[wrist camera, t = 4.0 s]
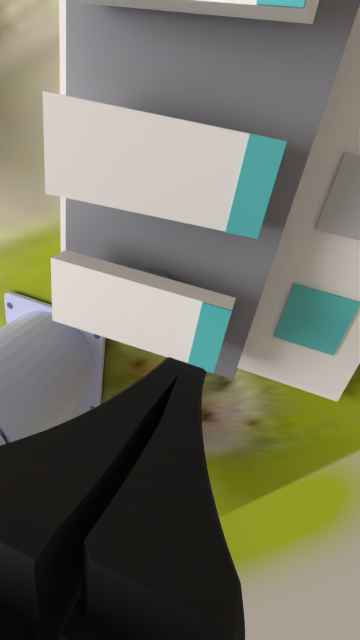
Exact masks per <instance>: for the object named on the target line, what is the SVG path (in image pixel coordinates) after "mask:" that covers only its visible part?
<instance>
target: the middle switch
mask: <svg viewBox="0 0 360 640" xmlns="http://www.w3.org/2000/svg"><path fill="white" fill-rule="evenodd" d="M42 92H43V128H44V163H45V194H50V195H55V196H59V197H64V198H69V199H73V200H78V201H83V202H88V203H92V204H97V205H102V206H107V207H111V208H116V209H121V210H126V211H130V212H135V213H140V214H145V215H149V216H154V217H159V218H163V219H168V220H173V221H178V222H182V223H187V224H192V225H197V226H201V227H206V228H211V229H216V230H220V231H225V232H226V233H231V234H236V235H240V236H245V237H250V238H255V239H258V236H259V233H260V229H261V226H262V223H263V219H264V216H265V213H266V209H267V206H268V203H269V200H270V196H271V193H272V190H273V186H274V183H275V180H276V176H277V173H278V170H279V166H280V163H281V160H282V156H283V153H284V150H285V147H286V143H287V141H283V140H279V139H275V138H270V137H265V136H260V135H255V134H250V133H246V132H241V131H236V130H231V129H226V128H221V127H217V126H212V125H207V124H202V123H197V122H192V121H188V120H183V119H178V118H173V117H168V116H163V115H159V114H154V113H149V112H144V111H139V110H134V109H130V108H125V107H120V106H115V105H110V104H105V103H101V102H96V101H91V100H86V99H81V98H76V97H72V96H67V95H62V94H57V93H51V92H46V91H42Z"/></svg>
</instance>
